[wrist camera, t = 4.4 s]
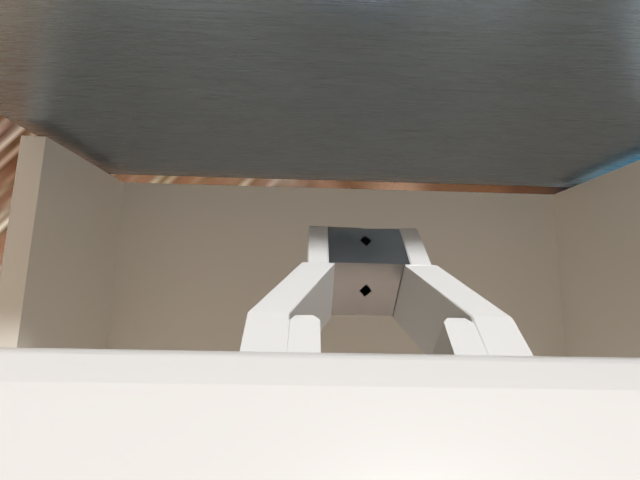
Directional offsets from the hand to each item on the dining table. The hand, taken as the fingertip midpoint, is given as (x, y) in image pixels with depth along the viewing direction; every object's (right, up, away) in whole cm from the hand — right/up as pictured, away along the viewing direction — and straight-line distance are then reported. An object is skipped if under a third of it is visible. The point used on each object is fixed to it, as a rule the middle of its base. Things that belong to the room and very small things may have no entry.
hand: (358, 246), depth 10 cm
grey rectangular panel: (0, +4, +7) cm, 8 cm away
